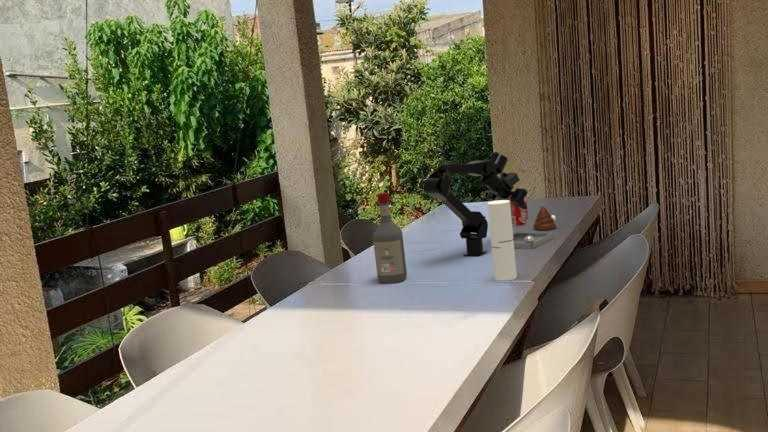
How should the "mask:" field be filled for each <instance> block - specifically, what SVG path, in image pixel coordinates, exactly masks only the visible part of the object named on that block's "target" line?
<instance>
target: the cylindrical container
mask: <svg viewBox="0 0 768 432" xmlns="http://www.w3.org/2000/svg"><path fill="white" fill-rule="evenodd" d="M487 213H488V221H489V222H488V223H489V224H488V226H489V232H490V233H489V235H490V243H491V252H492V253H491V256H492V264H493V265H492V266H493V274H494V275H493V277H494V281H500V282H506V281H507V282H508V281H512V280H516V279H517V278H518V277H517V276H518V275H517V273H518V272H517V264H516V253H515V248H514V241H513V234H514V233H513V230H514V229H513V226H512V219H511V208H510V201H509V200H497V201H491V202H490V201H488V202H487Z"/></svg>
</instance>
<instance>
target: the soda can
mask: <svg viewBox="0 0 768 432" xmlns="http://www.w3.org/2000/svg"><path fill="white" fill-rule="evenodd" d="M510 198H511V197H509V199H508V200H509V201H510V208H511V219H512V228H513V227H514V228H521V227H522V228H523V227H525V226H526V225H528V223H529V222H528V220H529V218H528V217H529V216H528V208H527V209H526V210H525V209H523V208H520V207H517V206H515V205H512V204H513V203H512V202H511V199H510ZM524 201H525V203H526V205H527V206H528V203H527V197H525V198H524Z"/></svg>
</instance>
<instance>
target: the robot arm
mask: <svg viewBox="0 0 768 432" xmlns="http://www.w3.org/2000/svg"><path fill="white" fill-rule="evenodd" d="M508 161H509V159H508V157H507V156H505V155H504V154H501V153H499V152H497V151H496V152H495V151H493V153H492V154H491V157H490V159H489V160H472V161H469V162H468V163H448V162H446V163H445V162H444V163H441V164H439V166H438V168H436V169H435V170H434V171H432V172H431V173H430V174H429V176H428V177H427V179H425V181H424V183H423V191H424V192H425V194H426V195H428V196H430V197H432V198H434V199H437V200H440V202H441V203H442V204H444V205H445V207H447V208H448V209H449V210H450V211H451V212H452V213H453V214H454V215H455V216H457V217H458V219H459V220H461V226H462V228H461V231H460V232H459V235H460V238H461V239H465V242H466V243H465V245H466V253H463V256H464V257H466V256H467V257H470V256H471V257H480V256H483V255H484V254H486V253H488V251H487V250H484V244H483V239H485V238H487V237H488V235H487V234H488V230H489V229H488V228H489V224H488V223H489V222H488V220H487V217H486V216H485V215H483V214H482V212H481V211H478V210H477V211H475V210H470V209H469V208H468V206H466V204H464V203H463V202H462V201H461V200H460V199H459V198H458V197H457V196H456V195H455V194H454V193H453V192H452V189H451V184H452V183H453V182H452V181H453V175H455V174H456V175H460V174H461V175H462V174H464V175H465V174H468V175H470V176H472V177H473V176H474V177H480V179H478V187H479V188H481V187H487V188H488V189H489V192H488V194H487V200H488V202H491V201H497V200H508V199H509V197H511V198H510V199H511V202H512V203H513V204H512V205H515V206H517V207H520V208H523V209H525V210H526V209H527V210H528V204H527V205H526V203H525V201H524V198H527V195H528V190H527V189H525V187H524V188H523V187H521V188H520V187H518V188H516V189H514V187H515V184H517V183H518V182H520V177H519V175H518V173H517V172H507V173H506V172H503V171H504V170H505V169H506V168H505V167H506V166H507V164H508ZM499 175H500V176H499ZM513 189H514V190H513Z"/></svg>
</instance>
